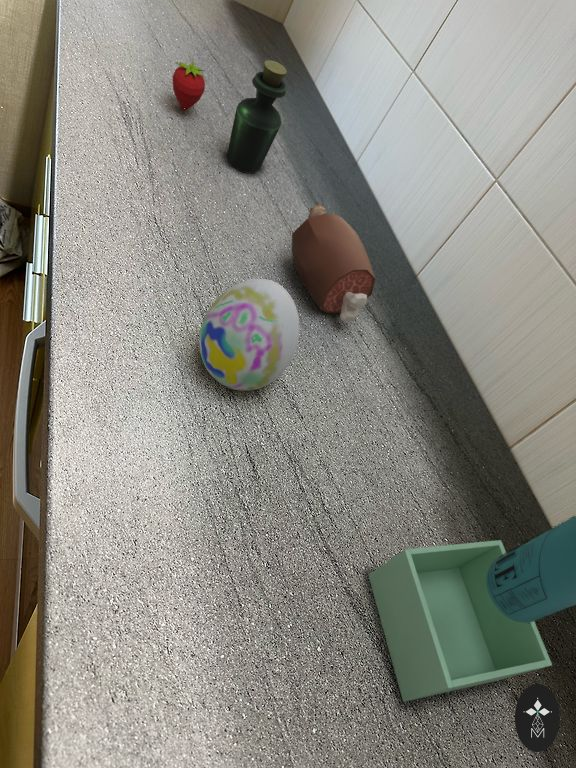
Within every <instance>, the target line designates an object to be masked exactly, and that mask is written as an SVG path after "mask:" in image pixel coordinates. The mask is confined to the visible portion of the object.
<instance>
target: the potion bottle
mask: <svg viewBox="0 0 576 768" xmlns="http://www.w3.org/2000/svg"><path fill="white" fill-rule="evenodd" d="M287 72H288V71H287V69H286V67H285V66H284V65H282V64H281V63H279V62H277V61H275V60H271V59H269V60H267V59H266V60H265V61H264V63H263V70H262V71H258V72H257V73H256V74H255V75H254V76H253V78H252V80H251V83H252V86H253V87H254V88H255V89H256V91H255V93H256V94H255V97H246V98H243V99H242V100H241V101H240V102H238V104H237V106H236V108H235V114H234V119H233V123H232V128H231V133H230V137H229V143H228V147H227V148H228V149H227V153H226V158H227V162H228V163H229V164H230V166H231V167H233V168H235V169H236V170H237V171H239V172H242V173H247V174H253V173H255V174H256V173H257V172H258V171H260V170H261V168H262V166H263V164H264V161H265V160H266V157H267V155H268V153H269V151H270V149H271V147H272V145H273V143H274V141H275V139H276V136H277V135H278V132H279V131H280V129H281V126H282V116H281V114H280V112H279V110H277V108H276V106H274V103H275V102H276V100H277V99H282V98H283V97H285V96H286V92H287V86H286V83H285V82H284V81H283V79H284V78H285V76H286V74H287Z"/></svg>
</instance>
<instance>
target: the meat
mask: <svg viewBox="0 0 576 768" xmlns="http://www.w3.org/2000/svg"><path fill="white" fill-rule="evenodd" d="M326 211H327V210H326V209H325V208H324V207H323V206H321V205H320V204H318V205H315V206H313V207H311V208H310V209H309V212H308V218H306V219H305V220H304V221H303V222H302V223H301V224H300V225H299V226H298V227H297V228H296V229H295V230H294V231H293V232H292V233H291V254H292V260H293V266H294V269H295V271H296V273H297V275H298V278H299V279H300V281H301V283H302V285H303V286H304V288H305V289H306V291H307V292H308V294H309V295H310V296H311V298H312V299H313V301H314V302H315V303H316V305H317V306H318V308H319V309H320V310H322V311H323V312H325V313H326V314H339V319H340V320H341V321H342V322H344V323H346V324H348V323H350V322H353V321H356V320H357V317H358V314H359V310H360V309H362V308H363V307H365V306H366V305H367V304H368V298H370V297H371V296H372V294H373V291H374V286H375V281H376V277H375V273H374V271H373V266H372V264H371V261H370V259H369V256H368V254H367V251H366V249H365V245H364V244H363V243H362V240H361V238H360V236H359V235H358V233H357V231H356V230H354V229H353V227H352V226H351V225H350V224H349V223H347V221H346V220H344V219H343V218H342V217H341V216H340V215H339V214H333V213H332V214H331V213H326Z"/></svg>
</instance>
